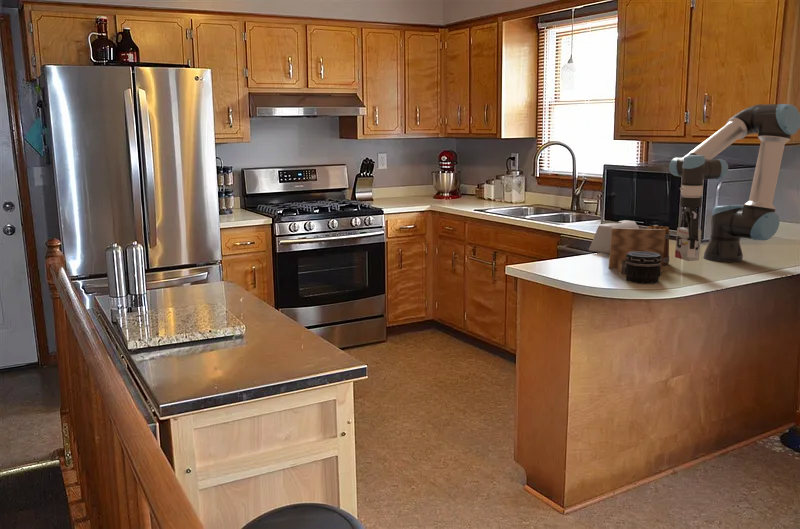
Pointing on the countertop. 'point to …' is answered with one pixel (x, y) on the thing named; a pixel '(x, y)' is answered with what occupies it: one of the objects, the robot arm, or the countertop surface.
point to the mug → (666, 244)
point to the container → (643, 267)
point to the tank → (608, 235)
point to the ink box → (686, 244)
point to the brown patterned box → (634, 244)
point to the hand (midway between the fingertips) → (687, 254)
